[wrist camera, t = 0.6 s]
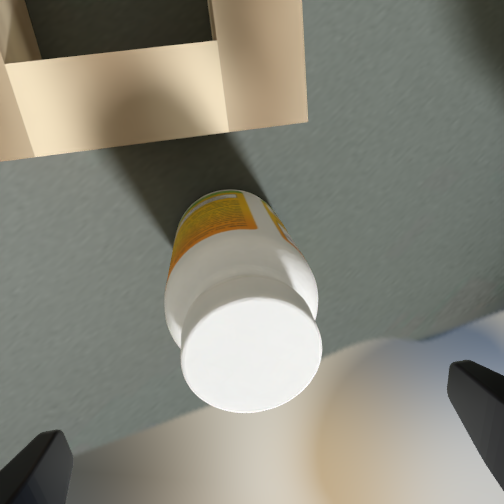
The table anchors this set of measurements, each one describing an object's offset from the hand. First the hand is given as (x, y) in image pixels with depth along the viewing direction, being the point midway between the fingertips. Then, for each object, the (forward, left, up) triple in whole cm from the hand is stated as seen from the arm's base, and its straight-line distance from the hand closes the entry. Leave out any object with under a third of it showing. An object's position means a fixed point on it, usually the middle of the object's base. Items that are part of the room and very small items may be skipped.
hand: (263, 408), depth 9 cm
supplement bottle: (0, 0, -12) cm, 12 cm away
